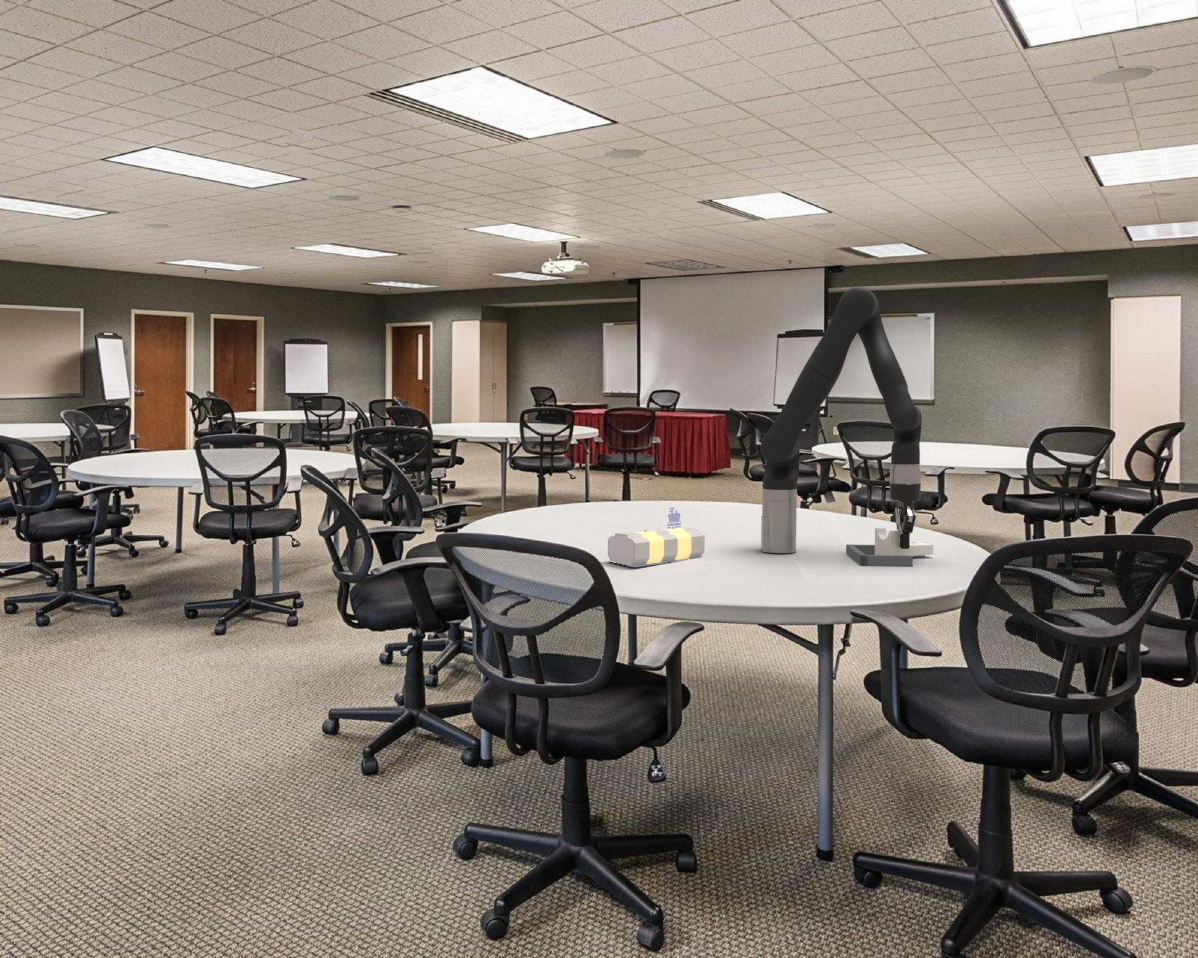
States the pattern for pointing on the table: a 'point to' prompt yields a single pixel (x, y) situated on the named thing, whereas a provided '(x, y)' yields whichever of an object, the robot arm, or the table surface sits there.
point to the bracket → (891, 545)
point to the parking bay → (876, 557)
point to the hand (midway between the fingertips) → (904, 548)
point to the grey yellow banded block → (657, 545)
